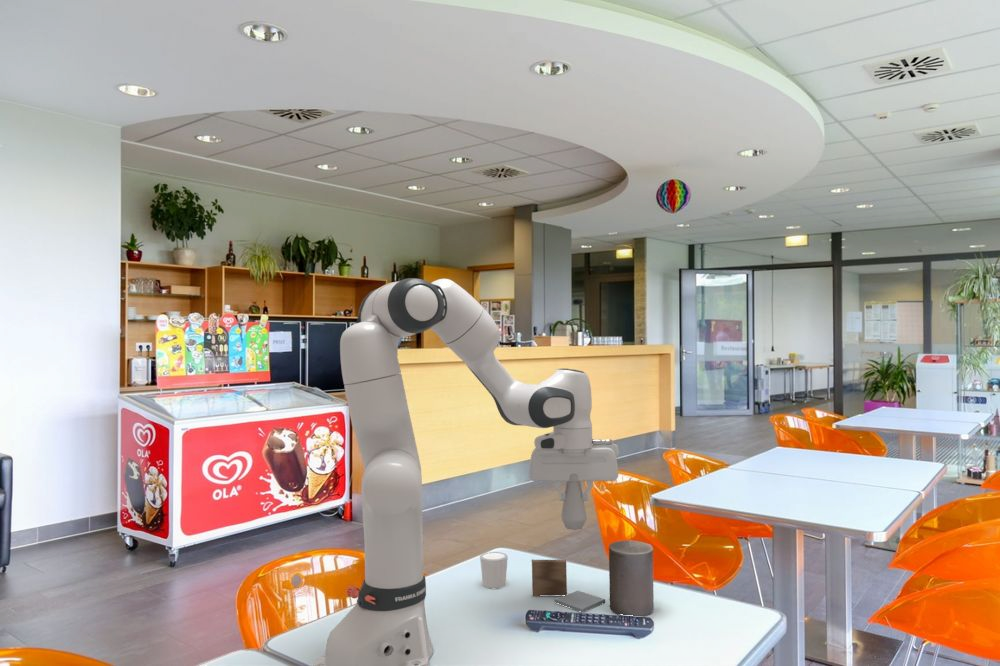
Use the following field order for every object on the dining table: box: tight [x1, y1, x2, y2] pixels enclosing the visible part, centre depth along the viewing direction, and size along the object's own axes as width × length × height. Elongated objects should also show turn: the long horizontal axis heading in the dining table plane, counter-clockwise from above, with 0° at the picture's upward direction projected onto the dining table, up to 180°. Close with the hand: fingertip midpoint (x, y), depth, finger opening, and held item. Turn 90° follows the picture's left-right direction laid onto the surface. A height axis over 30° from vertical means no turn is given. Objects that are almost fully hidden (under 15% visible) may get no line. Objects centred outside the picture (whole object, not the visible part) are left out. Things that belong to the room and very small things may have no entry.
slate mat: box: [554, 590, 606, 613], centre depth 154 cm, size 8×8×1 cm
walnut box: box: [531, 559, 568, 597], centre depth 159 cm, size 8×2×8 cm, turn 87°
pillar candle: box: [608, 539, 655, 617], centre depth 150 cm, size 10×10×15 cm
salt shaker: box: [560, 474, 588, 531], centre depth 156 cm, size 6×6×13 cm
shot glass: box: [479, 551, 509, 590], centre depth 167 cm, size 7×7×7 cm
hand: (573, 500), depth 156 cm, fingers closed on salt shaker, 4 cm apart
